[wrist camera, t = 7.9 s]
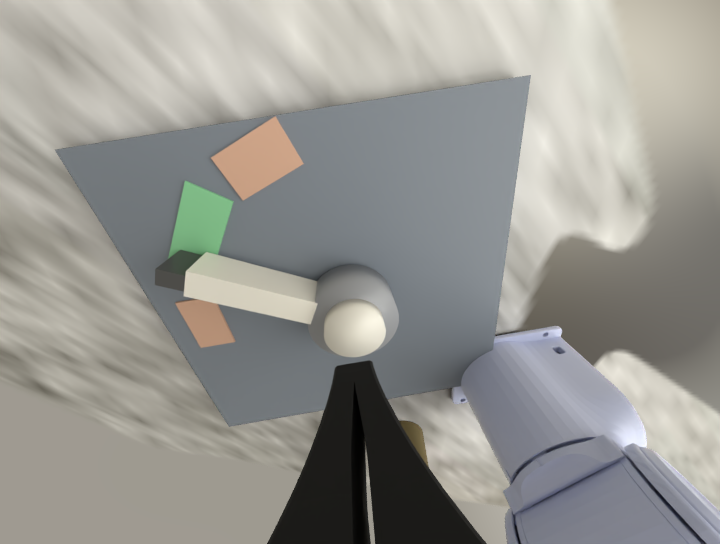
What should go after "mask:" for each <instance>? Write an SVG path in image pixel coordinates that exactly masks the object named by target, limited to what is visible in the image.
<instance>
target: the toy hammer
mask: <svg viewBox="0 0 720 544" xmlns="http://www.w3.org/2000/svg"><path fill="white" fill-rule="evenodd" d="M155 285H157V286H161V287H165V288H170V289H174V290H179V291H183V292H184V296H185V297H189V298H194V299H198V300H203V301H207V302H212V303H216V304H221V305H225V306H230V307H234V308H239V309H243V310H248V311H252V312H257V313H261V314H266V315H270V316H275V317H279V318H284V319H288V320H292V321H297V322H301V323H306V324H308V330H309V333H310V335H311V337H312V339H313V341H314V342H315V343H316V344H317V345H318V346H319V347H320V348H322V349H323V350H325V351H327V352H329V353H331V354H334V355H337V356H342V357H361V356H365V355H368V354H370V353H373V352H375V351H377V350H379V349H381V348H382V347H383V346H385V345H386V344H387V343H388V342H389V341H390V340H391V339H392V337H393V336H394V334H395V332H396V330H397V328H398V324H399V313H398V309H397V306H396V304H395V301H394V298H393V296H392V293H391V290H390V287H389V285H388V283H387V281H386V280H385V279H384V277H383V276H382V275H381V274H380V273H378V272H377V271H375V270H373V269H371V268H369V267H366V266H362V265H343V266H339V267H336V268H333V269H331V270H330V271H328V272H326V273H325V274H324V275H322V276H321V277H320V278H319V280H318V281H315V280H311V279H307V278H303V277H299V276H296V275H292V274H288V273H284V272H281V271H277V270H273V269H269V268H265V267H262V266H258V265H254V264H250V263H246V262H243V261H239V260H235V259H231V258H228V257H224V256H220V255H216V254H212V253H209V252H206V253H205V254H203V255H199V254H195V253H191V252H188V251H184V250H179V251H178V252H177V253H175V254H174V255H173V256H171V257H170V258H169V259H167V260H166V261H165V262H163V263H162V264H161V265H160V266H158V267H157V268H156V269H155Z"/></svg>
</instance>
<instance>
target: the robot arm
mask: <svg viewBox="0 0 720 544" xmlns="http://www.w3.org/2000/svg"><path fill="white" fill-rule="evenodd" d="M561 333H562V329H561V328H560V327H558V326H551V327H546V328H540V329H534V330H528V331H522V332H516V333H511V334H505V335H499V336H495V338H494V345H493V350H492V351H489V352H487V353H485V354H483V355H482V356H480V357H479V358H477V359H476V360H475V361H473V362H472V363H471V364H470V365H469V366H468V368H467V369H466V371H465V372H464V374H463V376H462V380H461V386H459V387H454V388H452V401H453V403H454V404H460V403H466V402H469V404H470V406H471V408H472V410H473V412H474V414H475V416H476V418H477V420H478V422H479V424H480V426H481V428H482V430H483V432H484V434H485V436H486V438H487V440H488V442H489V444H490V446H491V448H492V450H493V452H494V454H495V456H496V458H497V460H498V462H499V464H500V466H501V468H502V470H503V472H504V474H505V476H506V478H507V480H508V482H509V484H510V486H509V487H508V488H507V489H505V490H504V491H503V493H504V495H505V497H506V499H507V501H508V503H509V505H510V509H508V511H507V513H506V516H505V529H506V539H507V544H720V511H719V510H718V509H717V508H716V507H715V506H714V505H713V504H712V503H711V502H710V501H709V500H708V499H707V498H706V497H705V496H704V495H703V494H701V493H700V492H699V491H698V490H697V489H696V488H695V487H694V486H693V485H692V484H691V483H690V482H689V481H688V480H687V479H686V478H685V477H683V476H682V475H681V474H680V473H679V472H678V471H677V470H676V469H675V468H674V467H673V466H672V465H670V464H669V463H668V462H667V461H666V460H665V459H664V458H663V457H661V456H660V455H659V454H658V453H657V452H655V451H654V450H652V449H648V448H646V445H647V438H646V432H645V428H644V425H643V423H642V421H641V419H640V417H639V415H638V413H637V412H636V410H635V409H634V407H633V406H632V404H631V403H630V402H629V400H628V399H627V398H626V397H625V396H624V394H623V393H622V392H621V391H620V390H619V389H618V388H617V387H616V386H614V385H613V384H612V383H611V382H610V381H609V380H608V379H607V378H605V377H604V376H603V375H602V374H601V373H600V372H599V371H598V370H597V369H595V368H594V367H593V366H592V365H591V364H590V363H589V362H588V361H587V360H585V359H584V358H583V357H582V356H581V355H580V354H579V353H578V352H577V351H575V350H574V349H573V348H572V347H571V346H570V345H569V344H568V343H566V342H565V341H564V340H563V339H562V338H561V337H560V336H561ZM365 441H366V448H367V455H368V466H369V477H370V487H371V499H372V510H373V522H374V533H375V544H486V542H485V541H484V540H483V539H482V537H481V536H480V535H479V534H478V533H477V531H476V530H475V529H474V528H473V526H472V525H471V524H470V522H469V521H468V520H467V518H466V517H465V516H464V515H463V513H462V512H461V511H460V510H459V508H458V507H457V506H456V504H455V503H454V502H453V500H452V499H451V498H450V497H449V495H448V494H447V493H446V491H445V490H444V489H443V487H442V486H441V484H440V483H439V482H438V480H437V479H436V477H435V476H434V475H433V473H432V472H431V470H430V469H429V467H428V466H427V465H426V463H425V462H424V460H423V459H422V457H421V456H420V454H419V453H418V451H417V450H416V448H415V447H414V445H413V443H412V442H411V440H410V439H409V437H408V435H407V434H406V432H405V430H404V429H403V427H402V425H401V424H400V422H399V420H398V418H397V417H396V415H395V413H394V411H393V409H392V407H391V405H390V404H389V402H388V400H387V398H386V396H385V394H384V392H383V389H382V387H381V385H380V383H379V380H378V378H377V375H376V372H375V369H374V366H373V362H372V361H370V360H367V361H361V362H356V363H350V364H344V365H338V366H336V367H335V370H334V376H333V381H332V385H331V389H330V393H329V397H328V400H327V404H326V407H325V410H324V413H323V416H322V420H321V423H320V426H319V429H318V431H317V434H316V437H315V439H314V442H313V445H312V447H311V450H310V453H309V455H308V458H307V460H306V463H305V465H304V467H303V470H302V472H301V475H300V477H299V479H298V481H297V484H296V486H295V488H294V490H293V492H292V495H291V497H290V499H289V501H288V503H287V505H286V507H285V509H284V511H283V513H282V515H281V517H280V519H279V522H278V524H277V526H276V527H275V529H274V531H273V534H272V535H271V537H270V539H269V541H268V543H267V544H371V542H370V533H369V523H368V512H367V493H366V462H365Z"/></svg>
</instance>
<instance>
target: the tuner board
mask: <svg viewBox="0 0 720 544" xmlns="http://www.w3.org/2000/svg"><path fill="white" fill-rule="evenodd" d="M530 77H531V75H529V76H522V77H516V78H509V79H503V80H497V81H490V82H484V83H478V84H471V85H465V86H458V87H452V88H446V89H439V90H433V91H427V92H420V93H414V94H407V95H401V96H395V97H388V98H382V99H376V100H369V101H363V102H356V103H350V104H344V105H337V106H331V107H325V108H318V109H312V110H305V111H299V112H293V113H286V114H280V115H274V116H267V117H261V118H254V119H248V120H242V121H235V122H229V123H223V124H216V125H210V126H203V127H197V128H191V129H184V130H178V131H172V132H165V133H159V134H152V135H146V136H140V137H133V138H127V139H121V140H114V141H108V142H102V143H95V144H89V145H82V146H76V147H70V148H63V149H57V150H55V151H56V152H57V154H58V156H59V157H60V159H61V160H62V162H63V164H64V165H65V167H66V168H67V170H68V172H69V173H70V175H71V176H72V178H73V180H74V181H75V183H76V184H77V186H78V187H79V189H80V191H81V192H82V194H83V195H84V197H85V199H86V200H87V202H88V203H89V205H90V207H91V208H92V210H93V211H94V213H95V214H96V216H97V218H98V219H99V221H100V222H101V224H102V226H103V227H104V229H105V230H106V232H107V234H108V235H109V237H110V238H111V240H112V242H113V243H114V245H115V246H116V248H117V249H118V251H119V253H120V254H121V256H122V257H123V259H124V261H125V262H126V264H127V265H128V267H129V269H130V270H131V272H132V273H133V275H134V276H135V278H136V280H137V281H138V283H139V284H140V286H141V288H142V289H143V291H144V292H145V294H146V296H147V297H148V299H149V300H150V302H151V304H152V305H153V307H154V308H155V310H156V311H157V313H158V315H159V316H160V318H161V319H162V321H163V323H164V324H165V326H166V327H167V329H168V331H169V332H170V334H171V335H172V337H173V338H174V340H175V342H176V343H177V345H178V346H179V348H180V350H181V351H182V353H183V354H184V356H185V358H186V359H187V361H188V362H189V364H190V365H191V367H192V369H193V370H194V372H195V373H196V375H197V377H198V378H199V380H200V381H201V383H202V385H203V386H204V388H205V389H206V391H207V393H208V394H209V396H210V397H211V399H212V400H213V402H214V404H215V405H216V407H217V408H218V410H219V412H220V413H221V415H222V416H223V418H224V420H225V421H226V423H227V424H228V426H229V427H230V426H235V425H241V424H247V423H253V422H258V421H264V420H270V419H275V418H281V417H287V416H293V415H298V414H304V413H310V412H316V411H321V410H325V407H326V404H327V400H328V397H329V393H330V389H331V385H332V381H333V376H334V370H335V367H336V366H338V365H344V364H350V363H356V362H361V361H367V360H370V361H372V362H373V366H374V369H375V372H376V375H377V378H378V380H379V383H380V385H381V387H382V389H383V392H384V394H385V396H386V398H387V399H390V398H396V397H402V396H408V395H413V394H419V393H425V392H431V391H436V390H442V389H448V388H454V387H459V386H461V380H462V376H463V374H464V372H465V371H466V369H467V368H468V366H469V365H470V364H471V363H472V362H473V361H475V360H476V359H477V358H479V357H480V356H482V355H483V354H485V353H487V352H489V351H492V350H493V345H494V338H495V331H496V324H497V316H498V309H499V302H500V295H501V287H502V280H503V273H504V266H505V258H506V251H507V244H508V237H509V229H510V222H511V215H512V207H513V200H514V193H515V186H516V178H517V171H518V164H519V157H520V149H521V142H522V135H523V128H524V120H525V113H526V106H527V99H528V91H529V84H530ZM179 250H184V251H188V252H191V253H195V254H199V255H203V254H205V253H206V252H209V253H212V254H216V255H220V256H224V257H228V258H231V259H235V260H239V261H243V262H246V263H250V264H254V265H258V266H262V267H265V268H269V269H273V270H277V271H281V272H284V273H288V274H292V275H296V276H299V277H303V278H307V279H311V280H315V281H318V280H319V278H320V277H321V276H322V275H324V274H325V273H326V272H328V271H330V270H331V269H333V268H336V267H339V266H343V265H362V266H366V267H369V268H371V269H373V270H375V271H377V272H378V273H380V274H381V275H382V276H383V277H384V279H385V280H386V281H387V283H388V285H389V287H390V290H391V293H392V296H393V298H394V301H395V304H396V306H397V309H398V313H399V324H398V328H397V330H396V332H395V334H394V336H393V337H392V339H391V340H390V341H389V342H388V343H387V344H386V345H385V346H383V347H382V348H381V349H379V350H377V351H375V352H373V353H370V354H368V355H365V356H361V357H342V356H337V355H334V354H331V353H329V352H327V351H325V350H323V349H322V348H320V347H319V346H318V345H317V344H316V343H315V342H314V341H313V339H312V337H311V335H310V333H309V330H308V324H306V323H301V322H297V321H292V320H288V319H284V318H279V317H275V316H270V315H266V314H261V313H257V312H252V311H248V310H243V309H239V308H234V307H230V306H225V305H221V304H216V303H212V302H207V301H203V300H198V299H194V298H189V297H185V296H184V292H183V291H179V290H174V289H170V288H165V287H161V286H157V285H155V269H156V268H157V267H158V266H160V265H161V264H162V263H163V262H165V261H166V260H167V259H169V258H170V257H171V256H173V255H174V254H175V253H177V252H178V251H179Z"/></svg>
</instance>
